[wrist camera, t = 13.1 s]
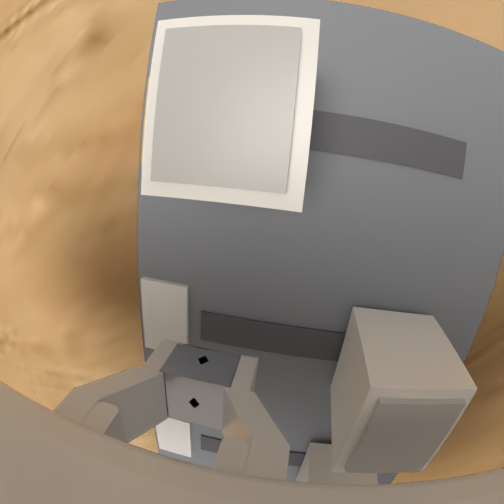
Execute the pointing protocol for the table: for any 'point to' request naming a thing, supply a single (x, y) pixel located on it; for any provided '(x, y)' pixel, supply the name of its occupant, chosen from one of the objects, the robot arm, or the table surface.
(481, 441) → the table surface
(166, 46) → the knob
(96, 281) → the table surface
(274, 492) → the robot arm
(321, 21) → the console
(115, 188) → the table surface
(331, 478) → the knob
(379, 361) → the knob
